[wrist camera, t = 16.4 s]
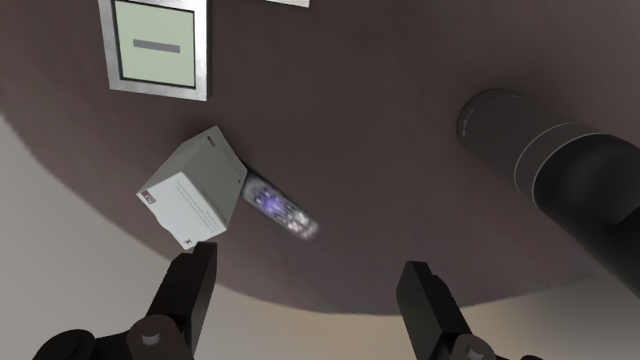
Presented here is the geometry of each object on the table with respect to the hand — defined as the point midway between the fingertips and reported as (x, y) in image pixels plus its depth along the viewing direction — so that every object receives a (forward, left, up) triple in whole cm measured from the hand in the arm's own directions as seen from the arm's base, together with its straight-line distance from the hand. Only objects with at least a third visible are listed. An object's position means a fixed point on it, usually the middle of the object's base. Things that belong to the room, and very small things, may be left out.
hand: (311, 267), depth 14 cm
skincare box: (+10, +11, -34) cm, 37 cm away
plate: (+16, -3, -33) cm, 37 cm away
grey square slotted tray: (+16, -3, -34) cm, 37 cm away
